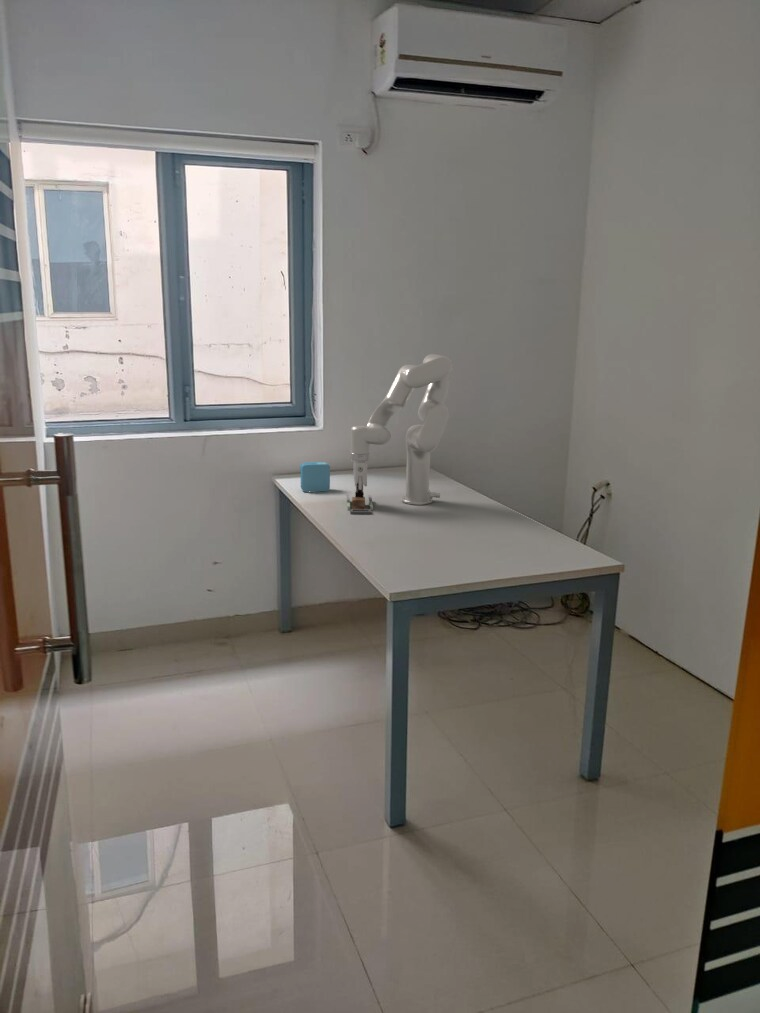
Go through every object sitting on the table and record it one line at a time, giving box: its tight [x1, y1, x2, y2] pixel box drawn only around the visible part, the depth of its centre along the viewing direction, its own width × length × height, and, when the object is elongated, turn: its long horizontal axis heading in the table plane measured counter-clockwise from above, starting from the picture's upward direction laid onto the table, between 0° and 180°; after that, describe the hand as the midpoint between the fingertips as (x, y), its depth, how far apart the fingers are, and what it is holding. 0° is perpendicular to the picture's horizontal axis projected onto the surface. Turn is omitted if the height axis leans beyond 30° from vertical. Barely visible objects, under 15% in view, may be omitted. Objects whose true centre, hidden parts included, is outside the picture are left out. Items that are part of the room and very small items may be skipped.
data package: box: [300, 461, 331, 493], centre depth 334 cm, size 12×4×12 cm, turn 104°
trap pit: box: [349, 508, 372, 515], centre depth 302 cm, size 8×4×1 cm, turn 94°
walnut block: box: [351, 496, 366, 509], centre depth 309 cm, size 5×5×4 cm
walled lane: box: [346, 494, 373, 506], centre depth 316 cm, size 10×7×2 cm
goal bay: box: [346, 502, 374, 511], centre depth 309 cm, size 10×6×2 cm, turn 94°
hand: (359, 501), depth 314 cm, fingers closed
